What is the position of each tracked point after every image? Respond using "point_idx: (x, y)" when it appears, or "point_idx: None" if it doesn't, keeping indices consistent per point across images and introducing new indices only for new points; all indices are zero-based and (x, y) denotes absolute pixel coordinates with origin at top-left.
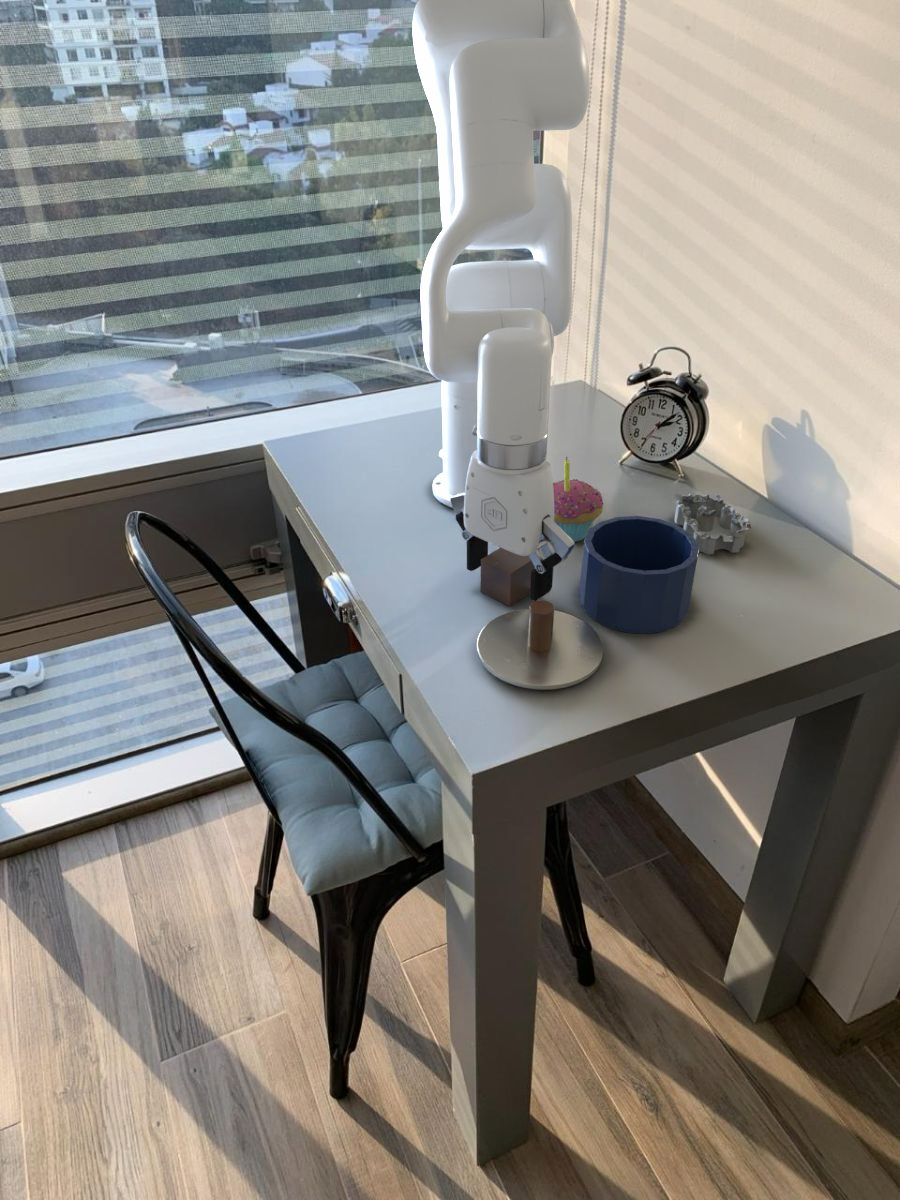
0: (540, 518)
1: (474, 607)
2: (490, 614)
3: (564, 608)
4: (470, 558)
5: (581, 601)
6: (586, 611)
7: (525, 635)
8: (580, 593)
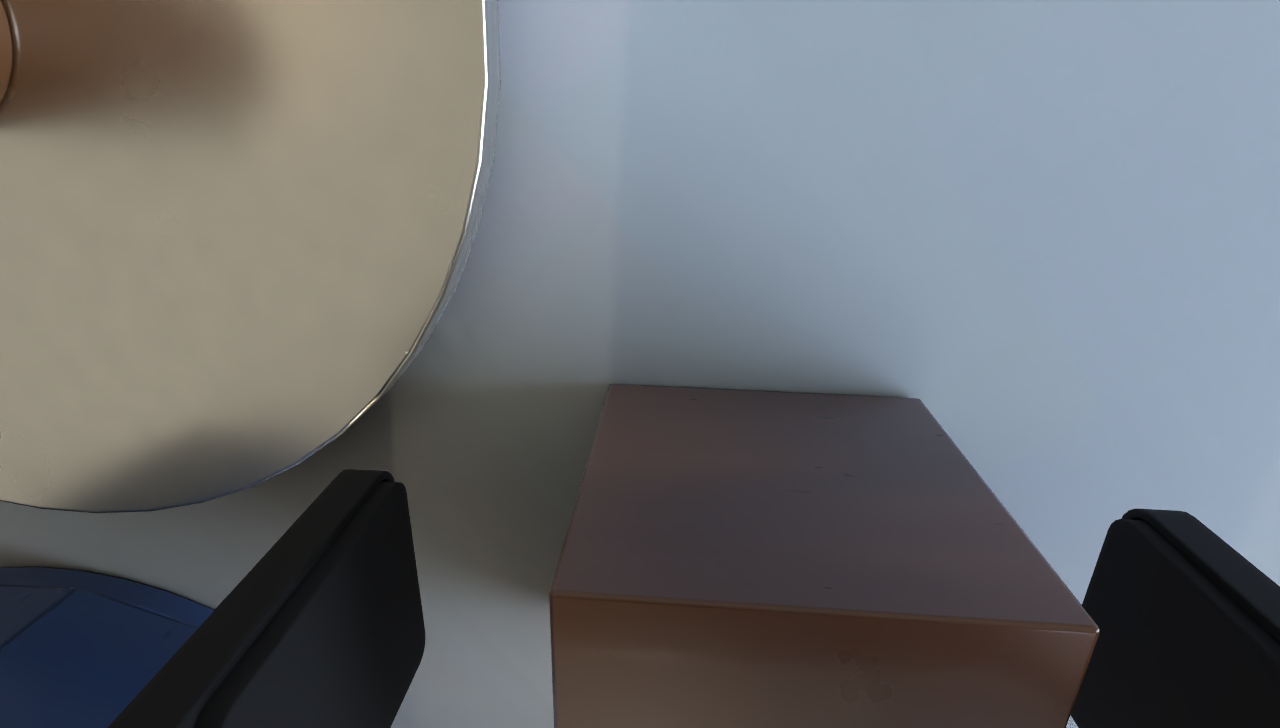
0: None
1: (835, 194)
2: (661, 203)
3: None
4: (1248, 614)
5: None
6: (196, 614)
7: (91, 42)
8: None
